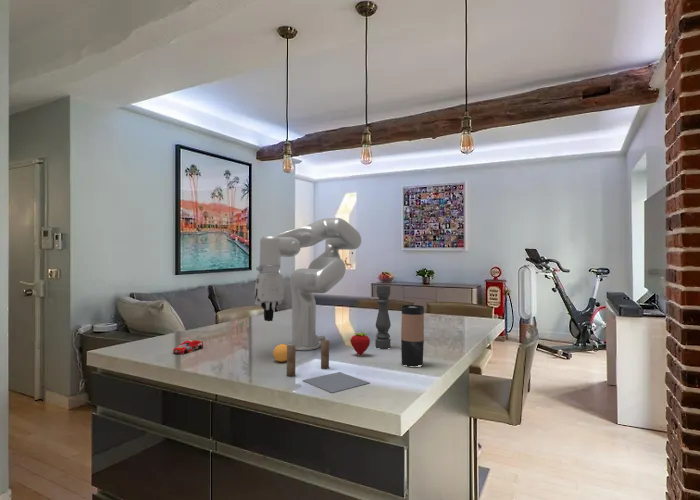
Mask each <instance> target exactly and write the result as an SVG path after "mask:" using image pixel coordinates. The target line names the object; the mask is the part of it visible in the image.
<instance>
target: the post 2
mask: <svg viewBox="0 0 700 500" xmlns="http://www.w3.org/2000/svg"><path fill="white" fill-rule="evenodd" d="M320 345H321V346H320V369H322V370H328V369H330V340H328V339H325V340H321V341H320Z"/></svg>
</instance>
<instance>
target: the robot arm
mask: <svg viewBox="0 0 700 500" xmlns="http://www.w3.org/2000/svg"><path fill="white" fill-rule="evenodd" d="M324 240H325V243H324V244H325V246H324V248H325V249H324V252H322V254H320V255H318V256H317V257H316V258H314V259H313V260H312V261H311V262H310V263H309V265H308V268H306V267H305V268H297V269H296V270H294V271H293V272H291V275H290V277H289V286H290V290H291V311H292V312H291V342H290V343H288V344H287V346H288V345H295V346H296V348H295V351H311V350H313V351H314V350H317V349H318V348H320V343H318V342H321V340H326V336H325V335H320V336H319V335H317V334H316V331H317V330H316V328H317V327H316V326H317V325H316V324H317V322H316V319H317V316H316V315H317V314H316V313H317V304H316V302H317V301H316V299H315V296H314V294H325V293H327V292H329V291H330V290H331V289H333V288H334V287H335V286H337V284H338V283H339V282H340V281H342V279H343V278H344V276H345V274H346V263H345V262H344V260H343V259H342V258H341V255H340V253H339V250H340V251H341V250H345V251H346V250H356V249H359V247H360V246H361V244H362V236H361V234H360V232H359V231H358V230H357V229H356V228H355V227H354V226H352V224H351V223H348V222H347V221H346V220H345V219H344V218H341V217H330V218H321V219H318V220H315V221H314V222H311V223H309V224H307V225H304V226H301V227H298V228H294V229H291V230H287V231H283V232H281V233H278V234H275V235H265V236H262V237H261V238H260V242H259V264H258V266H256V271H258V273H257V276H256V280H255V284H254V285H255V286H254V300H255V301H254V305H256V306H260V307H261V309H263V320H264V321H266V322H273V320H274V310H276V307H277V306H278V305H281V304H283V301H284V300H285V283H284V276H283V273H281V258H282V257H283V258H292V257H294V256H297V255H298V254H299V253H300V251H301V248H308V247H312V246H315V245H317V244H319V243H321V242H323V241H324Z"/></svg>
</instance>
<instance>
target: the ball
mask: <svg viewBox="0 0 700 500" xmlns="http://www.w3.org/2000/svg"><path fill="white" fill-rule="evenodd" d="M287 346H288V344H285V343H281V344H278V345H276V346H275V348H274V349H273V352H272V355H273V358H274V359H275V360H276V361H277V362H280V363H283V362H287Z"/></svg>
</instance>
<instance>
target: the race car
mask: <svg viewBox="0 0 700 500" xmlns="http://www.w3.org/2000/svg"><path fill="white" fill-rule="evenodd" d="M203 348H204V342H203V341H200V340H197V339H196V340H195V339H189V340H185V341H182V343H179V345H178V346H175V347H174V348H173V350H172V354H175V355H176V354H177V355H186V354H190V353H192V352H195V351H199V350H202V349H203Z"/></svg>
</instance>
